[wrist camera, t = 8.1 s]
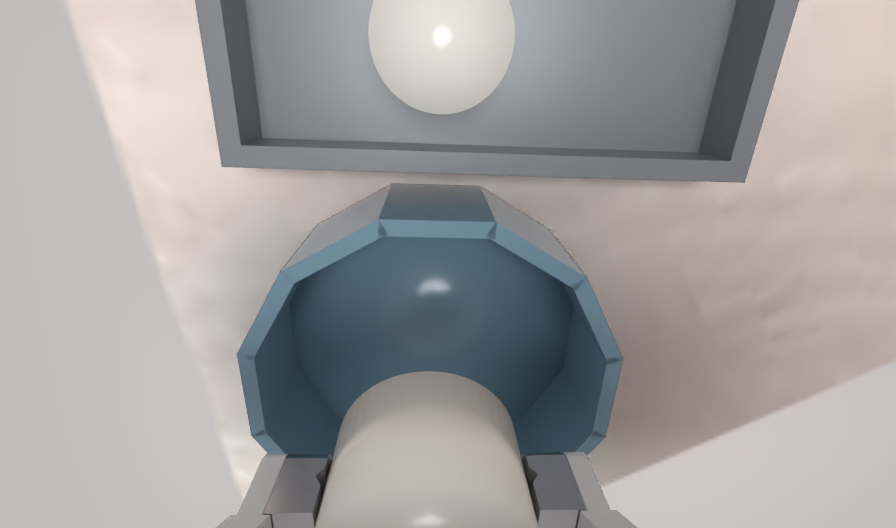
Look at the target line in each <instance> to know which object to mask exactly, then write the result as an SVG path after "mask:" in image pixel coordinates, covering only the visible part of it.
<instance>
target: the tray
mask: <svg viewBox="0 0 896 528" xmlns="http://www.w3.org/2000/svg"><path fill="white" fill-rule="evenodd" d="M373 1H374V0H195V3H196V9H197V16H198V22H199V28H200V34H201V40H202V47H203V53H204V59H205V65H206V71H207V77H208V84H209V90H210V96H211V102H212V108H213V115H214V121H215V127H216V133H217V139H218V146H219V152H220V158H221V164H222V167H242V168H275V169H309V170H342V171H375V172H409V173H442V174H476V175H509V176H542V177H576V178H609V179H643V180H676V181H710V182H743V183H745V179H746V176H747V173H748V169H749V166H750V163H751V159H752V156H753V153H754V149H755V146H756V143H757V139H758V136H759V133H760V129H761V126H762V123H763V119H764V116H765V113H766V109H767V106H768V103H769V99H770V96H771V93H772V89H773V86H774V83H775V79H776V76H777V73H778V69H779V66H780V62H781V59H782V56H783V52H784V49H785V46H786V42H787V39H788V36H789V32H790V29H791V26H792V22H793V19H794V16H795V12H796V9H797V6H798V2H799V0H509V2H510V5H511V8H512V12H513V17H514V25H515V42H514V49H513V54H512V57H511V61H510V64H509V66H508V69H507V71H506V73H505V75H504V77H503V79H502V80H501V82H500V83H499V84H498V86H497V87H496V88H495V90H494V91H493V92H492V93H491V94H490V95H489V96H488V97H487V98H485V99H484V100H483V101H482V102H480V103H479V104H477V105H475V106H474V107H472V108H469V109H467V110H465V111H461V112H458V113H453V114H431V113H427V112H423V111H420V110H417V109H415V108H413V107H411V106H409V105H407V104H406V103H404V102H403V101H402V100H400V99H399V98H398V97H397V96H395V95H394V94H393V93H392V92H391V91H390V89H389V88H388V87H387V86H386V84H385V83H384V82H383V80H382V78H381V77H380V75H379V73H378V71H377V69H376V67H375V64H374V61H373V58H372V55H371V51H370V46H369V36H368V29H369V18H370V12H371V8H372V4H373Z"/></svg>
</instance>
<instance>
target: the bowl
mask: <svg viewBox="0 0 896 528" xmlns="http://www.w3.org/2000/svg"><path fill="white" fill-rule="evenodd" d="M237 357H238V363H239V368H240V374H241V380H242V385H243V391H244V397H245V402H246V408H247V413H248V419H249V425H250V430H251V436H252V437H253V438H254V439H255V440H256V441H257V442H258V443H259V444H260V445H261V446H262V447H263V448H264V449H265V450H266V452H267V453H268V454H330V455H331V456H332V458H333V454H334V451H335V447H336V443H337V439H338V435H339V431H340V427H341V424H342V421H343V419H344V417H345V415H346V413H347V411H348V409H349V408H350V407H351V405H352V404H353V403H354V402H355V400H357V399H358V398H359V397H360V396H361V395H362V394H363V393H364V392H366V391H367V390H368V389H370V388H371V387H373V386H374V385H376V384H378V383H380V382H382V381H384V380H387V379H389V378H391V377H395V376H398V375H402V374H406V373H412V372H422V371H435V372H445V373H451V374H456V375H459V376H462V377H466V378H468V379H470V380H473V381H475V382H477V383H479V384H480V385H482V386H484V387H485V388H487V389H488V390H489V391H491V392H492V393H493V394H494V395H495V396H496V397H497V398H498V399H499V400H500V401H501V402H502V404H503V405H504V406H505V408H506V409H507V411H508V413H509V415H510V417H511V420H512V423H513V427H514V431H515V435H516V439H517V443H518V447H519V451H520V455H521V456H522V454H523V453H540V452H562V453H563V452H584V453H585V454H586V455H588V454H589V453H590V452H591V451H592V450H593V449H594V448H595V447H596V446H597V445H598V444H599V443H600V442H601V441H602V440H603V439H604V438H605V436H606V432H607V427H608V423H609V418H610V414H611V410H612V405H613V401H614V396H615V392H616V388H617V383H618V379H619V374H620V370H621V365H622V361H623V357H622V355H621V353H620V350H619V348H618V346H617V344H616V341H615V339H614V337H613V335H612V332H611V330H610V328H609V326H608V323H607V321H606V319H605V317H604V315H603V312H602V310H601V308H600V306H599V303H598V301H597V299H596V297H595V294H594V292H593V290H592V288H591V285H590V283H589V281H588V279H587V277H586V275H585V274H584V273H583V272H582V270H581V269H580V268H579V266H578V265H577V264H576V263H575V261H574V260H573V259H572V258H571V256H570V255H569V254H568V252H567V251H566V250H565V249H564V247H563V246H562V245H561V244H560V242H559V241H558V240H557V238H556V237H555V236H554V235H553V233H552V232H551V231H550V230H549V229H548V228H546V227H545V226H543V225H541V224H540V223H538V222H537V221H535V220H533V219H532V218H530V217H529V216H527V215H525V214H524V213H522V212H521V211H519V210H517V209H516V208H514V207H513V206H511V205H509V204H508V203H506V202H505V201H503V200H501V199H500V198H498V197H497V196H495V195H494V194H492V193H490V192H489V191H487V190H486V189H484V188H482V187H481V186H462V185H427V184H393V183H392V184H390V185H389V186H387V187H385V188H383V189H381V190H379V191H378V192H376V193H374V194H372V195H370V196H368V197H367V198H365V199H363V200H361V201H359V202H357V203H356V204H354V205H352V206H350V207H348V208H346V209H345V210H343V211H341V212H339V213H337V214H335V215H334V216H332V217H330V218H328V219H326V220H324V221H323V222H321V223H319V224H318V225H317V226H316V227H315V228H314V230H313V231H312V232H311V233H310V235H309V236H308V237H307V238H306V240H305V241H304V242H303V243H302V245H301V246H300V247H299V248H298V250H297V251H296V252H295V254H294V255H293V256H292V257H291V259H290V260H289V261H288V262H287V264H286V265H285V266H284V267H283V269H282V270H281V271H280V273H279V275H278V277H277V279H276V281H275V283H274V285H273V286H272V288H271V290H270V292H269V294H268V296H267V298H266V300H265V302H264V304H263V306H262V307H261V309H260V311H259V313H258V315H257V317H256V319H255V321H254V323H253V325H252V326H251V328H250V330H249V332H248V334H247V336H246V338H245V340H244V342H243V344H242V345H241V347H240V349H239V351H238V353H237Z"/></svg>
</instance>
